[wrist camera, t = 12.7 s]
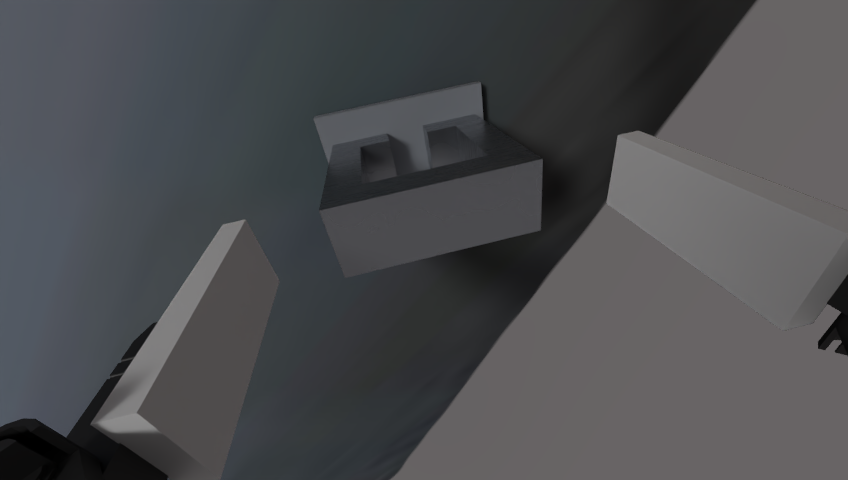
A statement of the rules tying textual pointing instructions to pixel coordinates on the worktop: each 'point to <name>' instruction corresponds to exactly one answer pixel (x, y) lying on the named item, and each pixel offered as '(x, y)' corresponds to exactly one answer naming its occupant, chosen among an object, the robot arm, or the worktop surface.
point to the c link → (429, 196)
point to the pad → (401, 122)
